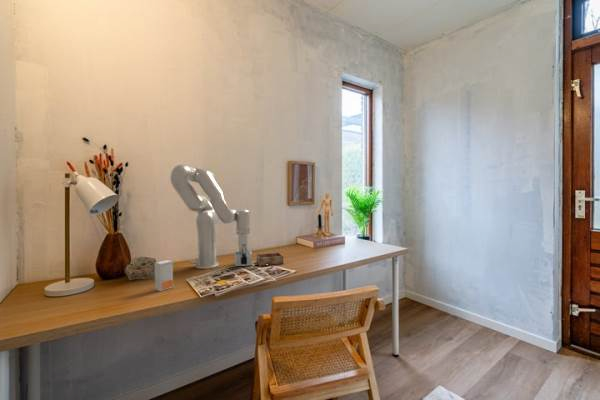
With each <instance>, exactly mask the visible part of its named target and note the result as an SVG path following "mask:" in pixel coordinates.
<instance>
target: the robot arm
mask: <svg viewBox="0 0 600 400" xmlns="http://www.w3.org/2000/svg"><path fill="white" fill-rule="evenodd" d="M190 182H194V183H197V184H198V185H199V186H200V188H201V189H202V191H203V192H204V193H205V195H206V196H204V195H202V194H198V193H197V191H196V190H195V188H194V187H193V185H192V184H191V183H190ZM170 184H171V185H172V187H173V188H174V190H175V192H176V193H177V195H178V196H179V197H180V199H181V200H182V202H183V203H184V204H185V205H186V207H187V209H188V210H189V211H191V212H194V213H195V212H196V213H197V217H196V219H195V221H196V222H195V223H196V230H197V253H198V254H197V255H198V256H197V259H190V261H189V264H190V265H191V264H192V265H195V268H196V269H199V270H208V269H213V268H217V267H218V266H220V262H218V261H217V244H216V240H217V239H216V227H215V225H216V224H217V223H218V221H219V220H220V221H221V222H222V223H224V224H227V225H228V224H232V223H233V222H235V223H236V227H235V228H236V230H235V232H236V233H235V234H236V235H237V252H241V264H247V255H246V252H247V251H249V250H248V248H249V235H250V234H251V231H250V230H251V227H250V226H251V223H250V221H251V220H250V216H251V215H250V214H251V213H250V210H248V209H232V208H230V207H229V206H228V204H227V202H226V201H225V198H224V192H223V190H222V188H221V187H220V186H219V184H218V183H217V181H216V176H215V174H214V173H213V172H212V171H210V170H206V169H201V168H198V167H195V166H190V165H187V164H178V165H176V166H174V168H173V169H172V170H171V173H170ZM242 253H243V254H242Z"/></svg>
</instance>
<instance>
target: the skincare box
mask: <svg viewBox="0 0 600 400" xmlns="http://www.w3.org/2000/svg"><path fill="white" fill-rule="evenodd" d="M173 263H174V261H173V260H169V259H165V260H162V261H161V260H160V261H158V262H157V261H156V263H155V278H154V291H158V292H163V291H166V290H169V289H173V288H174V264H173Z"/></svg>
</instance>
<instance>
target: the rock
mask: <svg viewBox="0 0 600 400" xmlns="http://www.w3.org/2000/svg"><path fill="white" fill-rule="evenodd" d="M130 261H131V262H130V264H129V265H127V264H126V268H125V269H124V274H125V275H127V278H128V280H129V281H132V280H155V263H156V262H157V259H156V258H155V257H149V256H136V257H134V258H132V259H131V260H130Z"/></svg>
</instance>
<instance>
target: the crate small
mask: <svg viewBox="0 0 600 400" xmlns="http://www.w3.org/2000/svg"><path fill="white" fill-rule="evenodd" d="M242 254H243V253H242ZM246 255H247V264H241V252H239V251H235V252H234V266H235V267H236V266H243V265H252V266H253V253H252V251H251V250H250V251H249V250H248V251H247V252H246Z"/></svg>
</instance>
